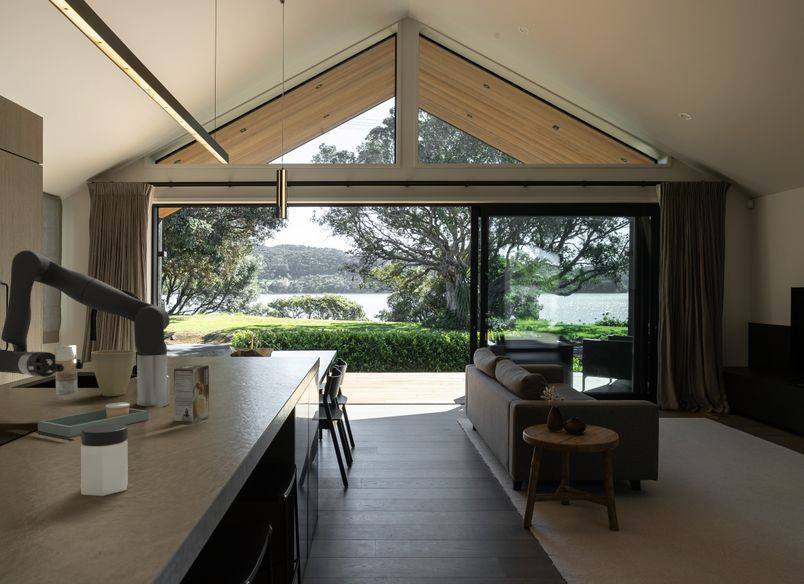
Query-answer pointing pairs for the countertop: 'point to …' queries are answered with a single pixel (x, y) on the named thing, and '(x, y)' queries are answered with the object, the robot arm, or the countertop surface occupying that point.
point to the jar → (104, 459)
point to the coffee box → (191, 393)
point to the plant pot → (113, 370)
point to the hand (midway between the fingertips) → (71, 366)
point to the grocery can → (66, 370)
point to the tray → (86, 422)
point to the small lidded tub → (117, 409)
